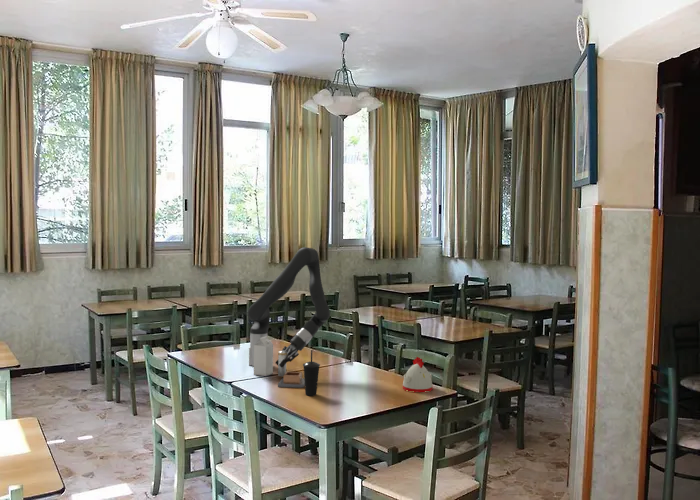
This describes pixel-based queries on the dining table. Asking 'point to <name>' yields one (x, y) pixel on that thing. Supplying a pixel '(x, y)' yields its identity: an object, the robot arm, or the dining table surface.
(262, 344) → the milk carton
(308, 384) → the drinking cup
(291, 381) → the collar plate
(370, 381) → the dining table surface
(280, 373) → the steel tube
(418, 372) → the kitchen timer
